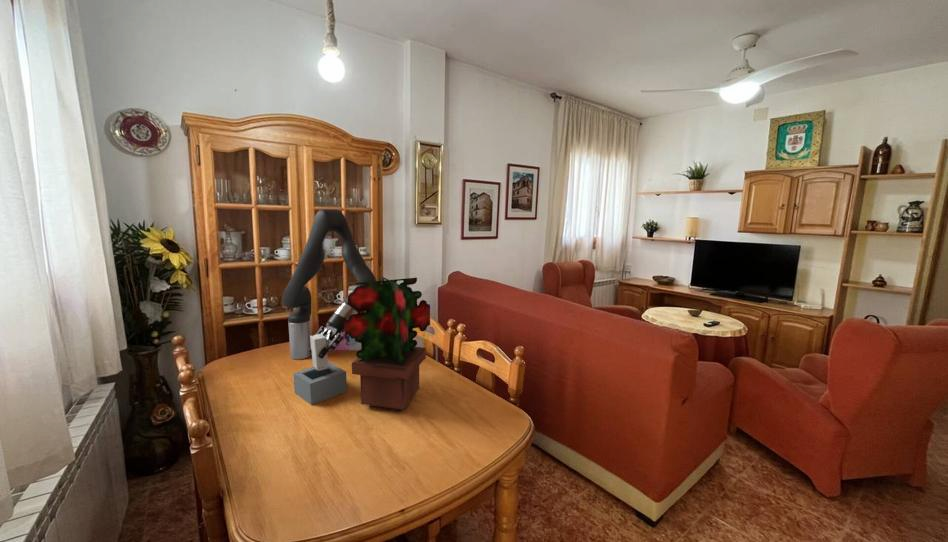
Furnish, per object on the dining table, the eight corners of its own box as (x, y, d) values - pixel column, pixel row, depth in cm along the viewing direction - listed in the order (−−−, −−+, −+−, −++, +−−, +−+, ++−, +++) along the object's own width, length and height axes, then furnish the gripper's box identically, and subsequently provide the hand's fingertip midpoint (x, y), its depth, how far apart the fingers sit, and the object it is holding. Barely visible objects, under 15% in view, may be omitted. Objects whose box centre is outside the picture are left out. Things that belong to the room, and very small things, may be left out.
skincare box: (329, 368, 137) (327, 337, 135) (316, 371, 134) (314, 339, 132) (323, 363, 142) (322, 333, 140) (311, 366, 139) (309, 335, 137)
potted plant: (408, 421, 121) (407, 288, 114) (348, 412, 126) (342, 284, 118) (430, 390, 143) (430, 276, 136) (377, 383, 147) (374, 273, 140)
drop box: (294, 393, 138) (293, 373, 137) (329, 380, 149) (328, 361, 148) (311, 405, 130) (310, 384, 129) (346, 391, 141) (346, 371, 139)
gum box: (324, 351, 180) (323, 324, 178) (329, 345, 188) (328, 319, 186) (374, 350, 182) (373, 324, 180) (377, 344, 190) (376, 319, 188)
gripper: (326, 308, 145) (298, 345, 138) (346, 315, 136) (317, 355, 129) (339, 319, 150) (313, 354, 143) (359, 326, 141) (332, 364, 134)
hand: (315, 354), depth 136 cm, fingers closed on skincare box, 6 cm apart
